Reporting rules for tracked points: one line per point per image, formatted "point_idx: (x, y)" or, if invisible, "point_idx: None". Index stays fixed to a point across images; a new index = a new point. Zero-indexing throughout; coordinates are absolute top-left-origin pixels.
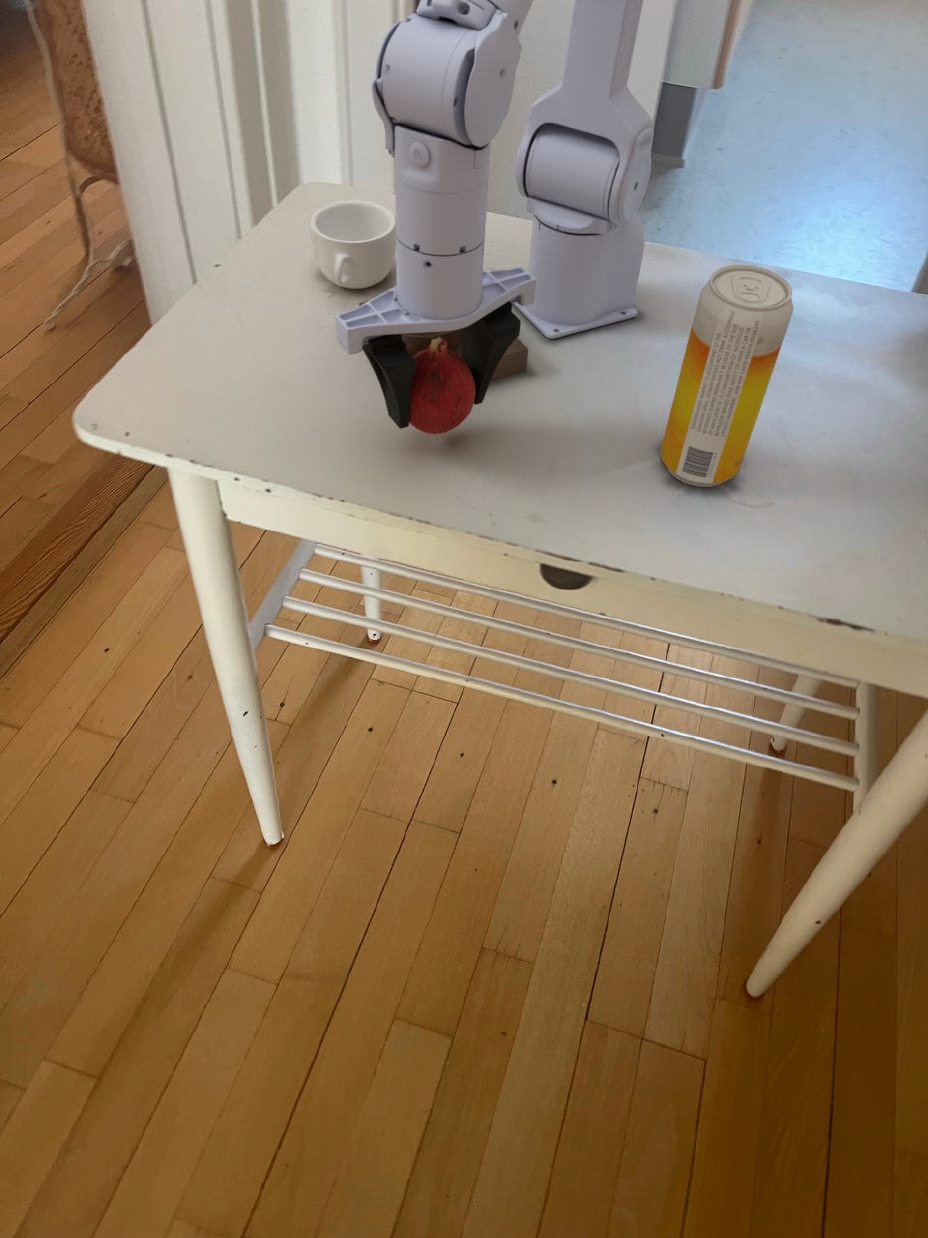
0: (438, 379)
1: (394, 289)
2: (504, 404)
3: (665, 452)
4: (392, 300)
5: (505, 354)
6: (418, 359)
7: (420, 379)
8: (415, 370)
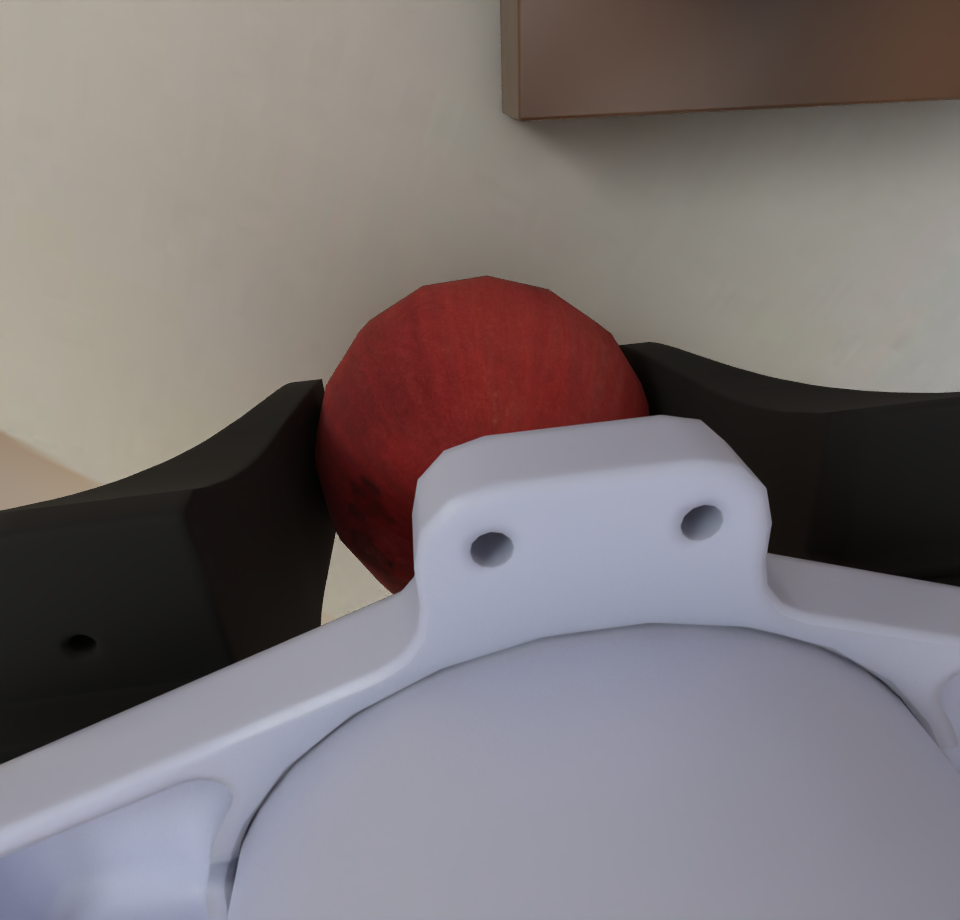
0: None
1: (249, 766)
2: (769, 252)
3: None
4: (211, 795)
5: (949, 92)
6: (412, 534)
7: (387, 581)
8: (380, 553)
